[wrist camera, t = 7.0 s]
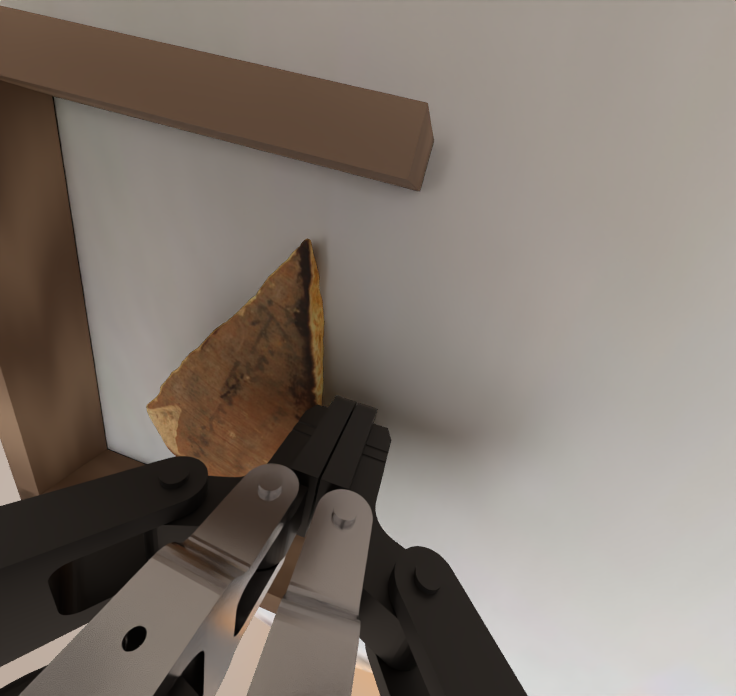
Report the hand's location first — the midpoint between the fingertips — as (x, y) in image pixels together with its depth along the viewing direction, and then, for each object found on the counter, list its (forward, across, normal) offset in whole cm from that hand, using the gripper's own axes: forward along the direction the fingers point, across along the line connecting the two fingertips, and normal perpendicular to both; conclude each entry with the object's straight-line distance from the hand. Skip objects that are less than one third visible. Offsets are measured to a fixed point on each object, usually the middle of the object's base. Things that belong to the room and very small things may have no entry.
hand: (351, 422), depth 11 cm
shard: (+2, +5, +1) cm, 5 cm away
